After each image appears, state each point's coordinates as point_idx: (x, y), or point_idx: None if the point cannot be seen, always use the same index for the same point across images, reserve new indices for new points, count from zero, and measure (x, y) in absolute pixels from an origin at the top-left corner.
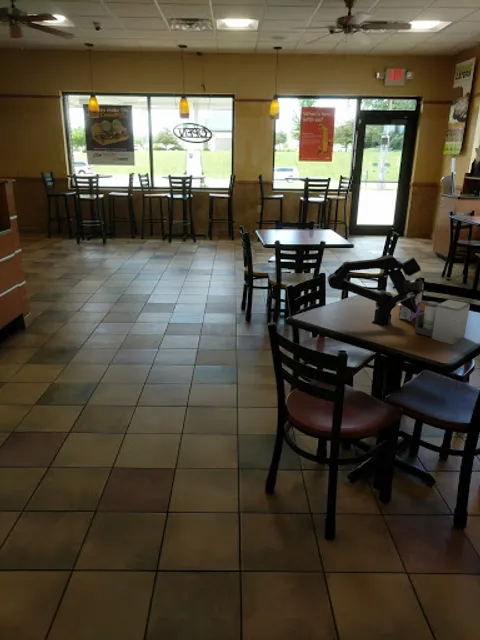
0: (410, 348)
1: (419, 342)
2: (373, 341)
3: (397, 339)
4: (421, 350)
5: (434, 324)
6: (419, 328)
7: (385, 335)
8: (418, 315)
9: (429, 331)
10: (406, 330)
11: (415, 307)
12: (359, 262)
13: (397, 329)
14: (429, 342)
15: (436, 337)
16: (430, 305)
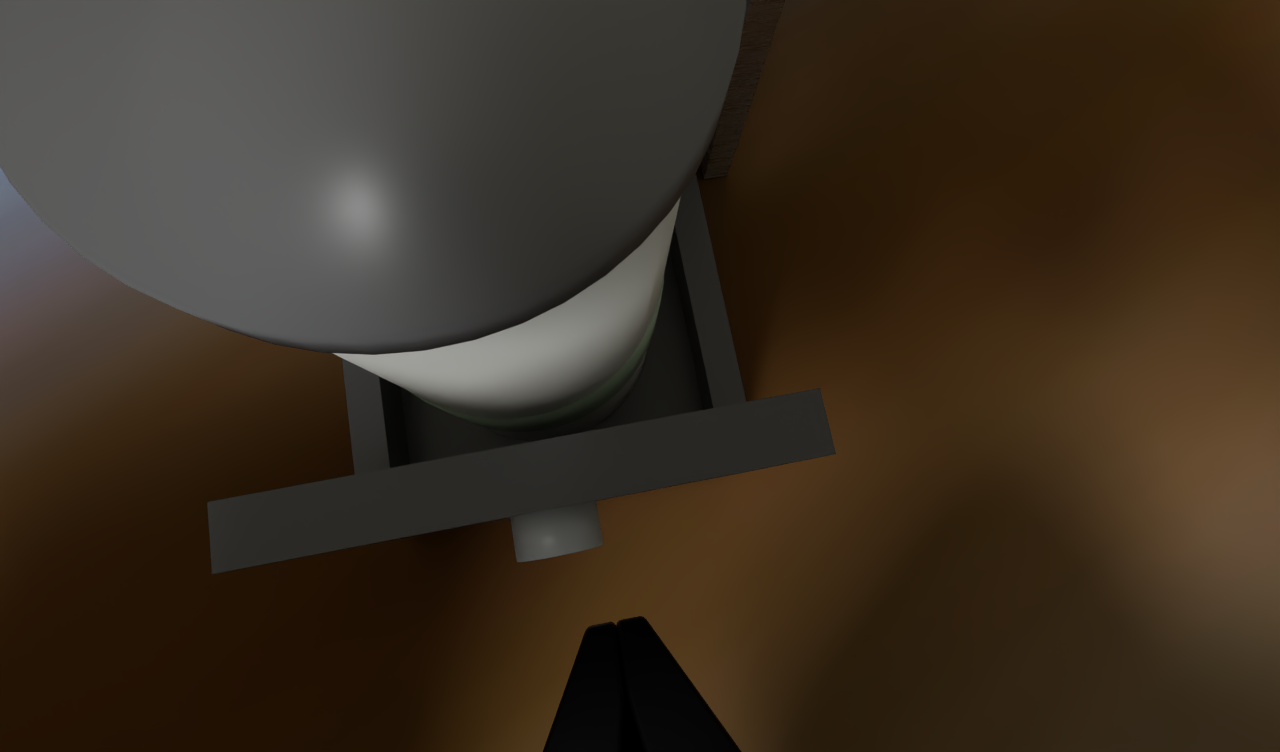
0: (1262, 118)
1: (991, 183)
2: None
3: (1190, 417)
4: (1182, 13)
5: (774, 9)
6: (740, 379)
7: (1242, 636)
8: (817, 398)
9: (700, 212)
10: (752, 616)
11: (616, 744)
12: None
13: (848, 737)
14: (869, 115)
15: None
16: None
